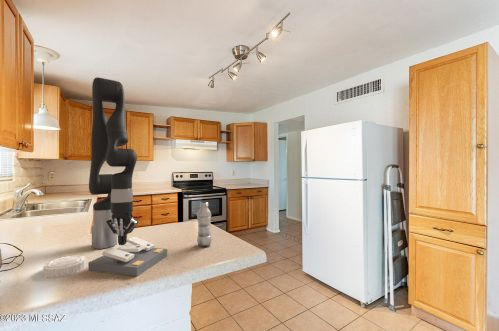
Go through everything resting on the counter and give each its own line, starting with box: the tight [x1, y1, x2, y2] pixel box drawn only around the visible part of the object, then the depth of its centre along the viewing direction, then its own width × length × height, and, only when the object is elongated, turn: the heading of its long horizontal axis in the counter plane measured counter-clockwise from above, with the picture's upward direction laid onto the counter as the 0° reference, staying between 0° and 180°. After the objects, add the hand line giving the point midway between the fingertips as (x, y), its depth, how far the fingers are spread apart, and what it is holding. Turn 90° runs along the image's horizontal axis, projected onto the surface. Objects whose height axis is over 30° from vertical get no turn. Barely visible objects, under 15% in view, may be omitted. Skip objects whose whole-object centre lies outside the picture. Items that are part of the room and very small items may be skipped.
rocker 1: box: [102, 247, 135, 262], centre depth 86 cm, size 10×4×1 cm, turn 77°
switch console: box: [87, 244, 168, 277], centre depth 91 cm, size 20×18×4 cm
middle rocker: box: [116, 244, 145, 252], centre depth 91 cm, size 10×4×1 cm, turn 77°
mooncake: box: [43, 255, 87, 279], centre depth 86 cm, size 12×12×4 cm
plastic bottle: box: [196, 201, 213, 247], centre depth 110 cm, size 6×7×20 cm
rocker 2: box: [126, 235, 155, 251], centre depth 97 cm, size 10×4×1 cm, turn 77°
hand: (122, 244), depth 92 cm, fingers closed
